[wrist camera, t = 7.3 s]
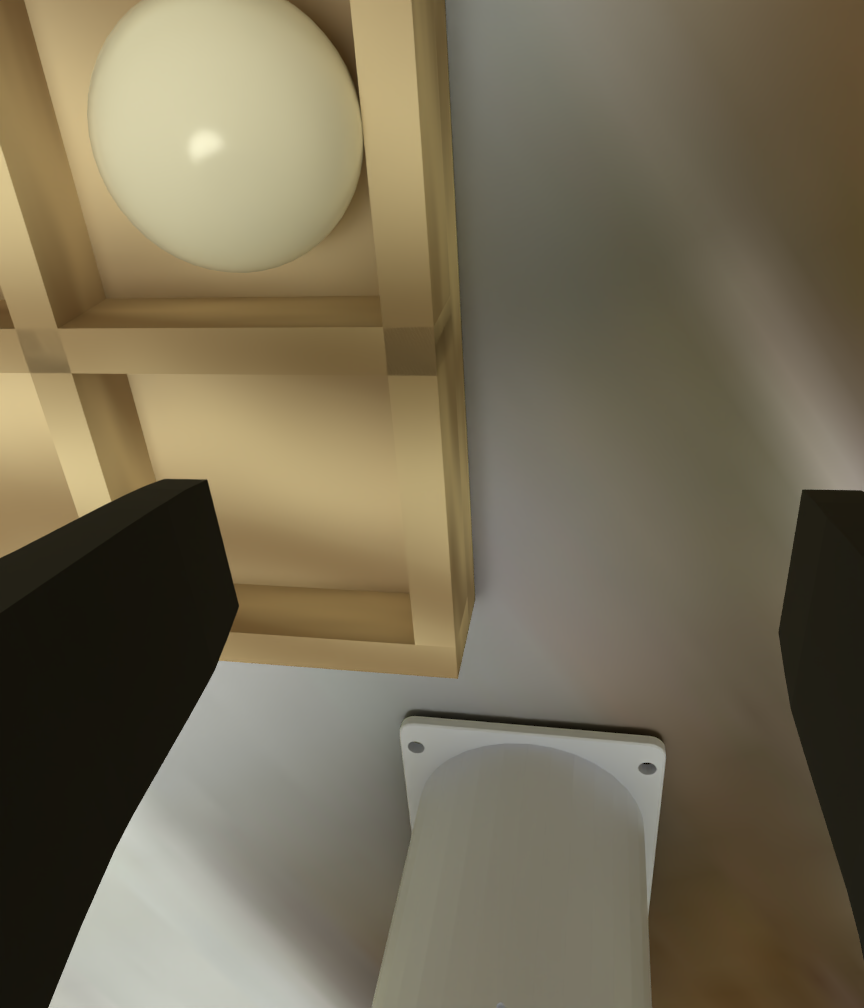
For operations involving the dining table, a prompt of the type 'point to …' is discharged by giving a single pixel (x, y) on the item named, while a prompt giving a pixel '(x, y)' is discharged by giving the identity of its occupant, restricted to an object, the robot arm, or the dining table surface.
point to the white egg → (226, 130)
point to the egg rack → (250, 355)
